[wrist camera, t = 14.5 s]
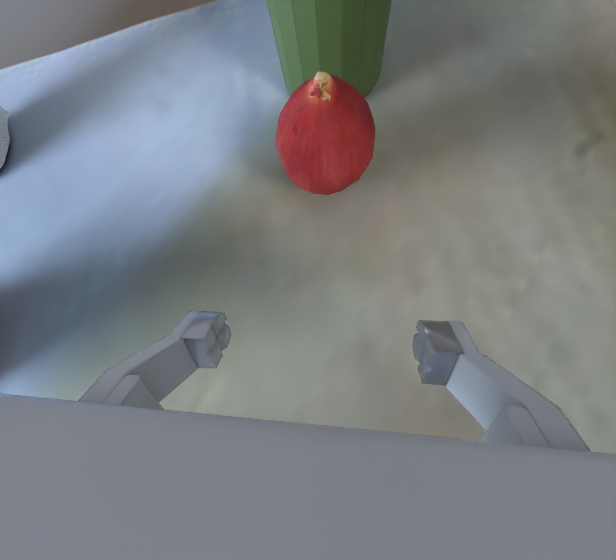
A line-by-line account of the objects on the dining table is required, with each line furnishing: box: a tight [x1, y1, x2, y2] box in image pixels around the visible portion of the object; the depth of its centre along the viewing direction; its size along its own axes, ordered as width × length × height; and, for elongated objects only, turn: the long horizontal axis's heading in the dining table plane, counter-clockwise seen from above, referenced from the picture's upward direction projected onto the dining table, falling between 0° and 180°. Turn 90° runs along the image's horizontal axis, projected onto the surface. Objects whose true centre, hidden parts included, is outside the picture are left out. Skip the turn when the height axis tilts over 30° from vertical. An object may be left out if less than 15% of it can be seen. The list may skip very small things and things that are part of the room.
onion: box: [276, 72, 375, 195], centre depth 15 cm, size 6×6×8 cm
